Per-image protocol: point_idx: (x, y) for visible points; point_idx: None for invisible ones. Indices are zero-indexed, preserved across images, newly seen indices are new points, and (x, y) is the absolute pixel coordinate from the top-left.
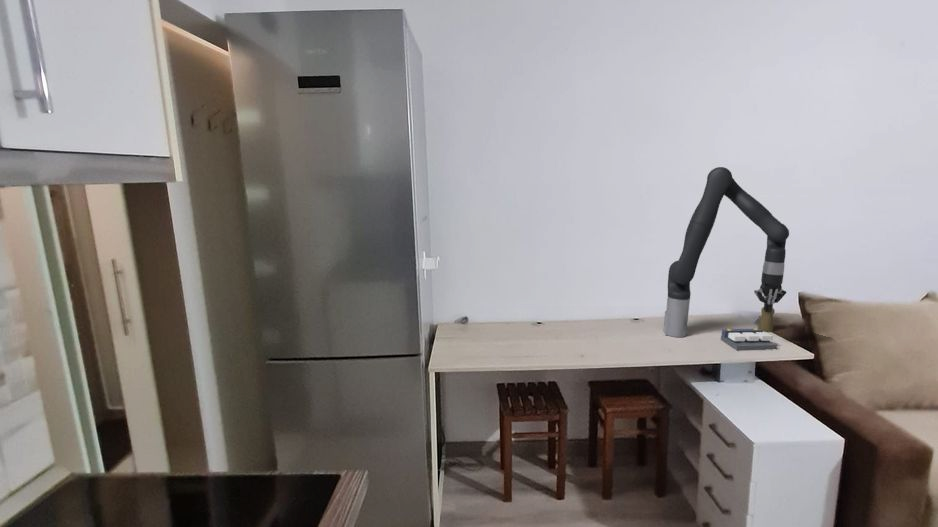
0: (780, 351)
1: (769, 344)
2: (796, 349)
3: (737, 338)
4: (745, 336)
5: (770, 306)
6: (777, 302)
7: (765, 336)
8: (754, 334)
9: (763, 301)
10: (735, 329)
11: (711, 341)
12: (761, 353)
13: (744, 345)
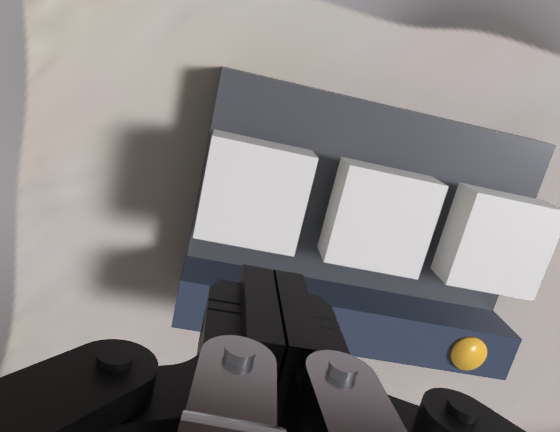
0: (220, 24)
1: (274, 98)
2: (42, 19)
3: (537, 202)
4: (479, 193)
5: (277, 319)
6: (102, 344)
7: (289, 151)
8: (354, 214)
9: (504, 422)
10: (407, 351)
11: (545, 323)
12: (408, 36)
13: (494, 139)
